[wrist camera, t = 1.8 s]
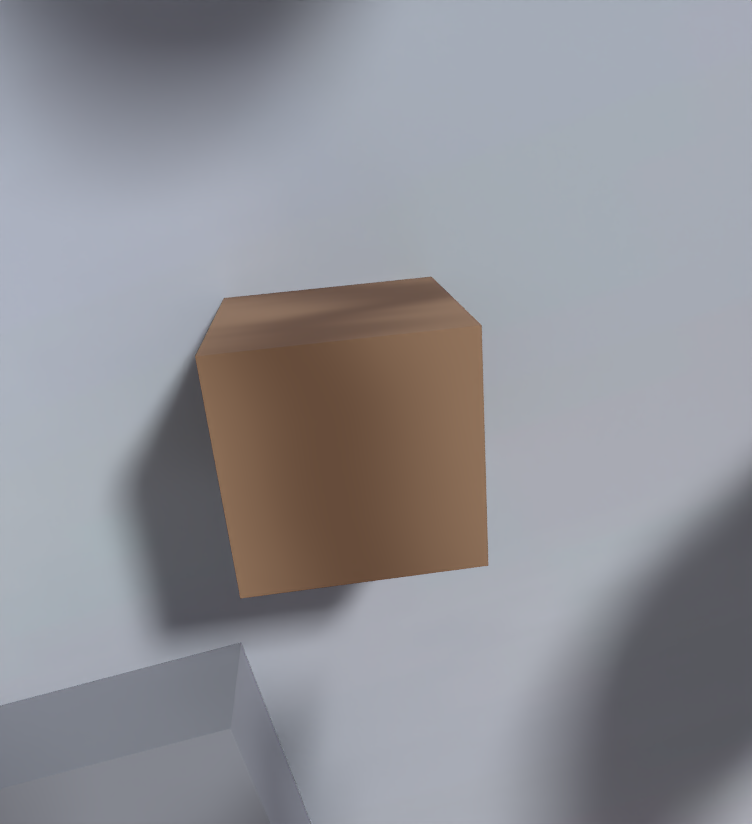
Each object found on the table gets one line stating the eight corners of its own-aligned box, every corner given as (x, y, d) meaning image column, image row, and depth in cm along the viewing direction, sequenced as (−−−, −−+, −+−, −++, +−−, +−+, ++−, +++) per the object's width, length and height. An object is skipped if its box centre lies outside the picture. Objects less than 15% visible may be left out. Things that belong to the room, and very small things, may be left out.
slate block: (242, 635, 20) (230, 728, 17) (313, 821, 23) (315, 931, 20) (-24, 704, 20) (-87, 811, 17) (81, 882, 23) (45, 1002, 20)
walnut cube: (431, 276, 17) (481, 325, 12) (441, 461, 19) (488, 565, 14) (224, 297, 16) (194, 356, 12) (255, 484, 18) (240, 598, 14)
